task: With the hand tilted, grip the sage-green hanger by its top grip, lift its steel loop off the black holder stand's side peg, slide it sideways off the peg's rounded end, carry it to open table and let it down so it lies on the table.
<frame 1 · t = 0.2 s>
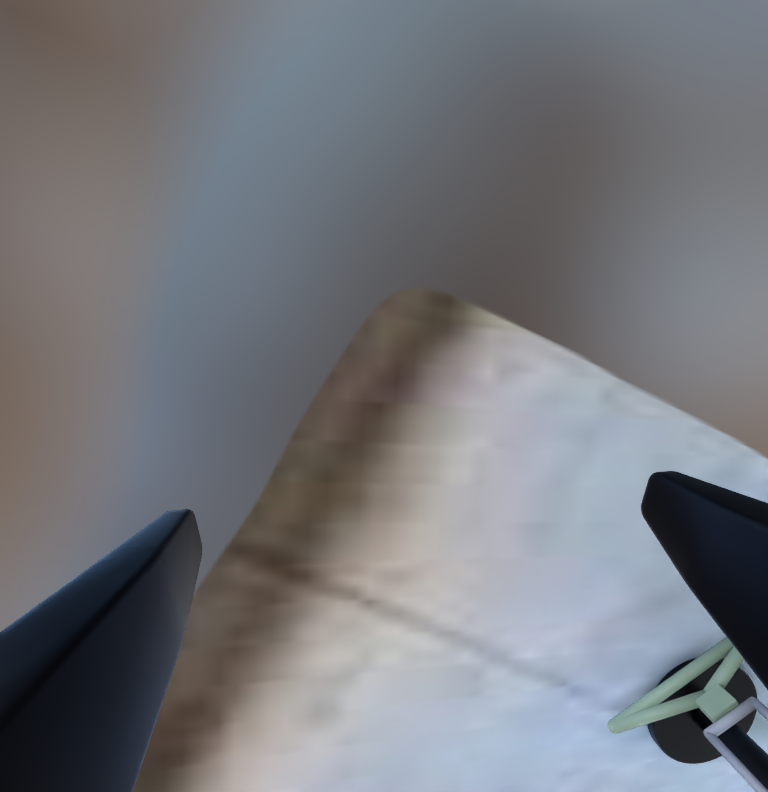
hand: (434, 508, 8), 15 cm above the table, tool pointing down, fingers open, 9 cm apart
black holder stand: (697, 705, 29), on the table
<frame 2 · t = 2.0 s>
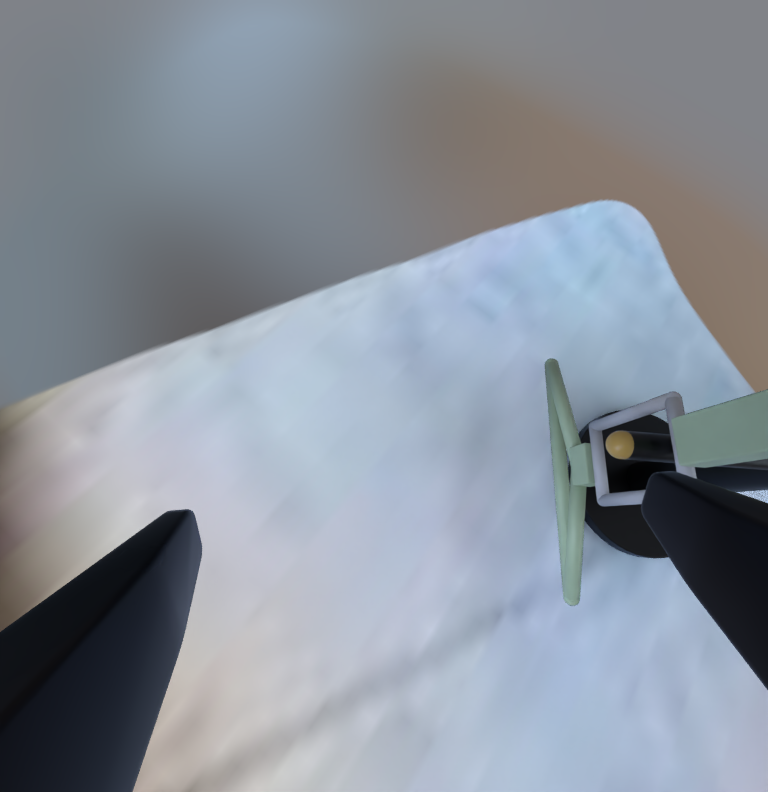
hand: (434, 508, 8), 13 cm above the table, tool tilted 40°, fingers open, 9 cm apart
black holder stand: (634, 481, 23), on the table
hanger: (733, 432, 12), point 11 cm above the table, touching black holder stand
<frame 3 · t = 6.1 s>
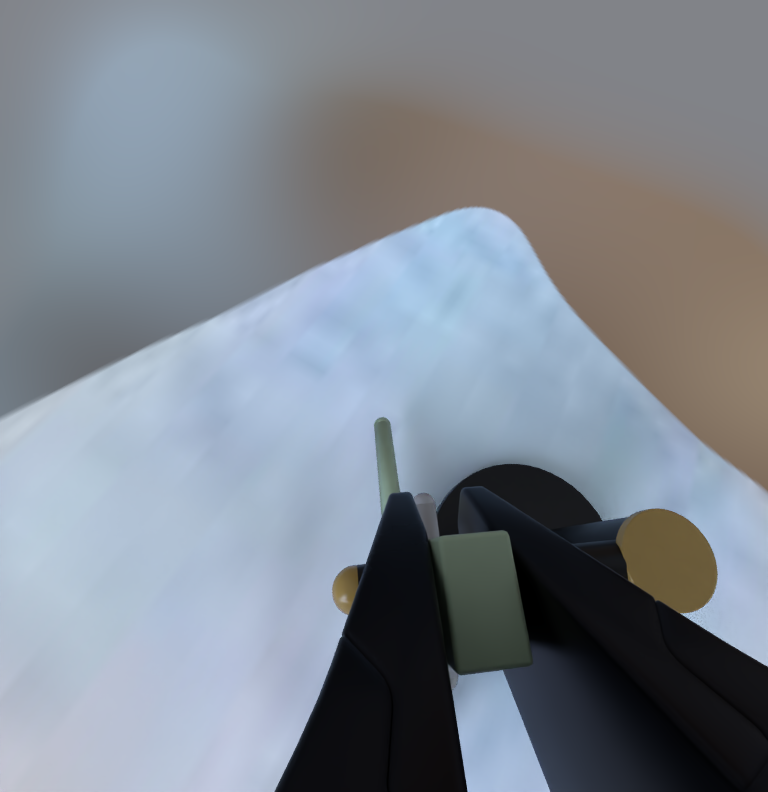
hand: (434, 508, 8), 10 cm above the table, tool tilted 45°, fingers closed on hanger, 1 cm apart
black holder stand: (518, 559, 17), on the table
hanger: (455, 590, 7), point 11 cm above the table, touching black holder stand, gripper
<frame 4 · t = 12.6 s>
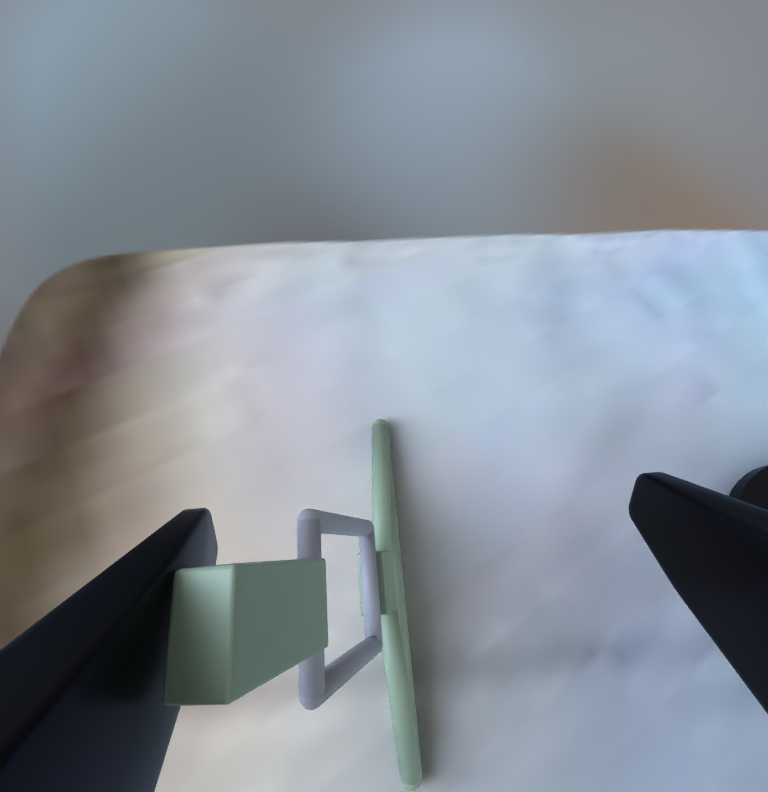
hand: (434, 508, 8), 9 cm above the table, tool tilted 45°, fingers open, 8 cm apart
hanger: (263, 614, 7), point 9 cm above the table, tilted 19°, touching gripper
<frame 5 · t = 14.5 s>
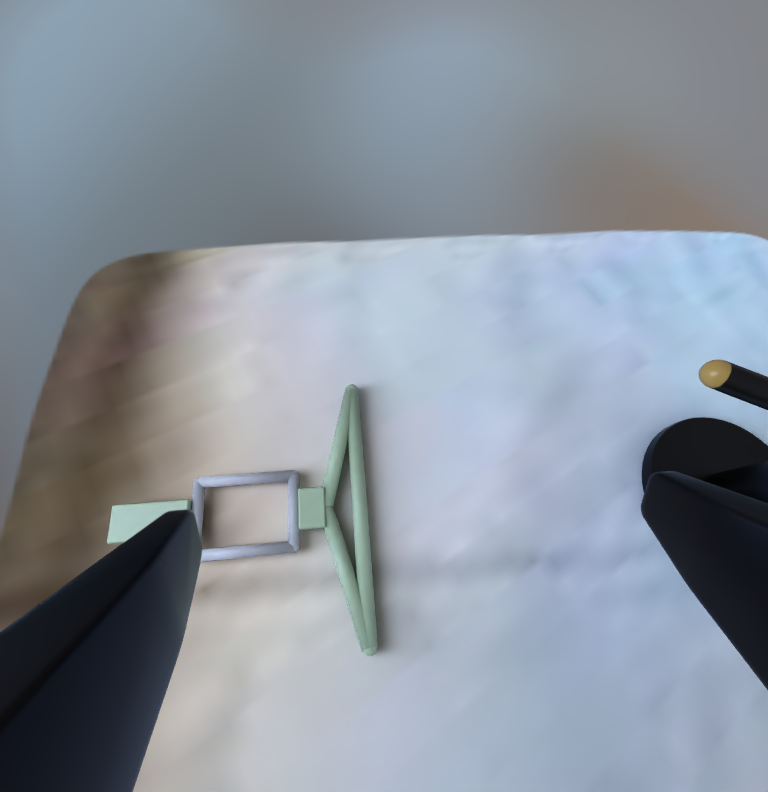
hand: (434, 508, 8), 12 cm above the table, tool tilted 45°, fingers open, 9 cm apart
black holder stand: (716, 494, 21), on the table
hanger: (153, 521, 18), point 1 cm above the table, tilted 90°
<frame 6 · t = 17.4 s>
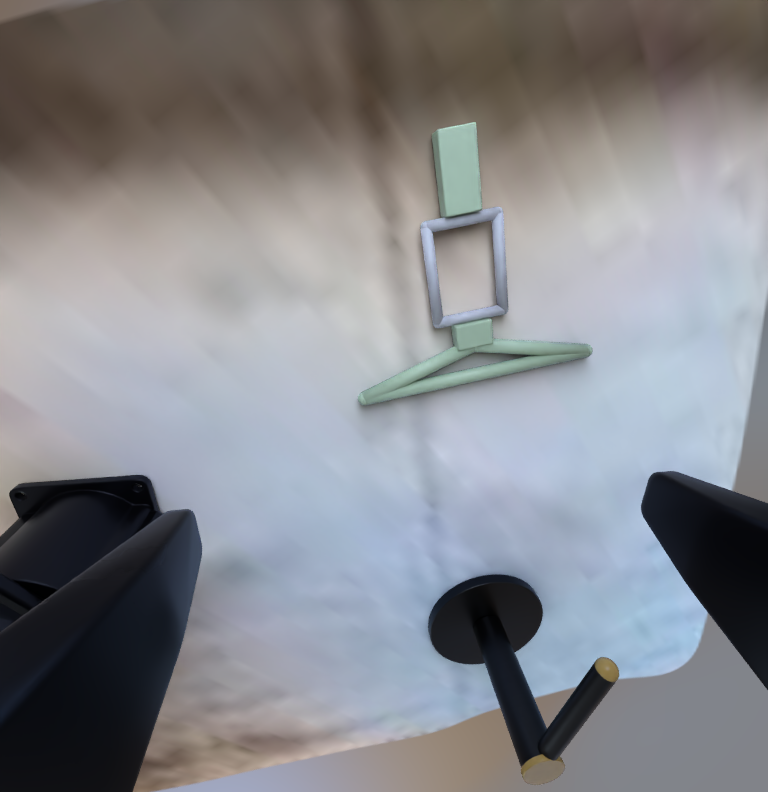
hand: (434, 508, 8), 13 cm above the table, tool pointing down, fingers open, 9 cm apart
black holder stand: (483, 616, 29), on the table
hanger: (457, 172, 17), point 1 cm above the table, tilted 90°
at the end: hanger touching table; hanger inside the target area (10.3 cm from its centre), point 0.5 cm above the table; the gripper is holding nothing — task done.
